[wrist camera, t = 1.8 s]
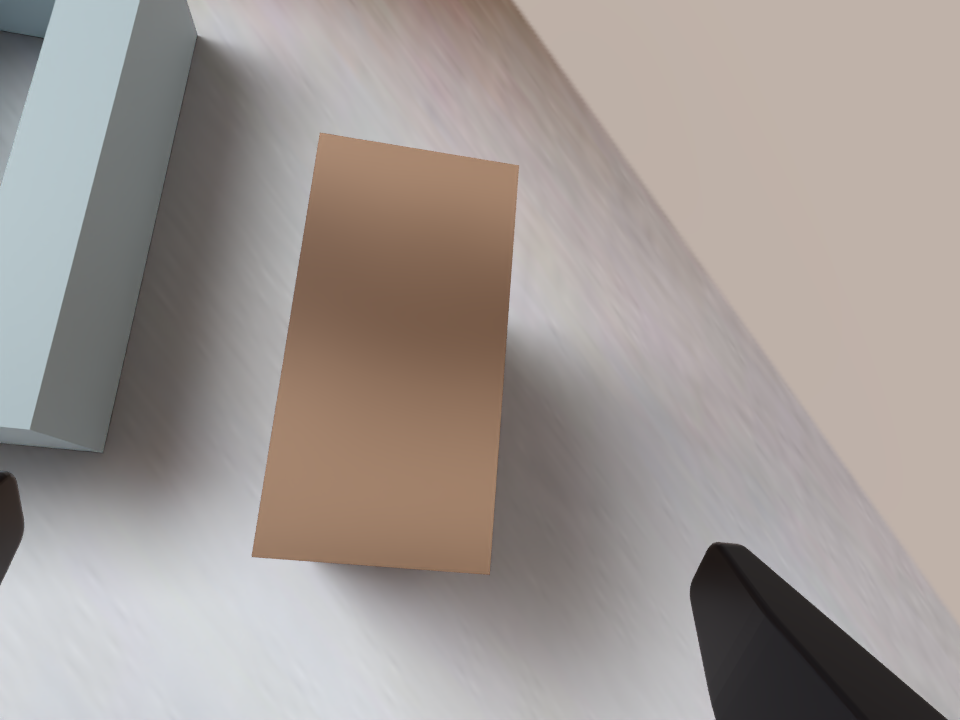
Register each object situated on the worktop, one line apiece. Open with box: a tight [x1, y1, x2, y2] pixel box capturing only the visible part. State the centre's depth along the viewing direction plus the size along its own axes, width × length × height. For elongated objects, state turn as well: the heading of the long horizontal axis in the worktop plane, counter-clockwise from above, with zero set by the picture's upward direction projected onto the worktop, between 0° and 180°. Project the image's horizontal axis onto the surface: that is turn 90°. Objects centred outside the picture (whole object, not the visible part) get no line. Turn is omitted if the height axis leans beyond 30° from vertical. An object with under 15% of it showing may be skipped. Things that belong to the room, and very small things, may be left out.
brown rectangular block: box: [252, 133, 519, 575], centre depth 17 cm, size 8×4×9 cm, turn 175°
